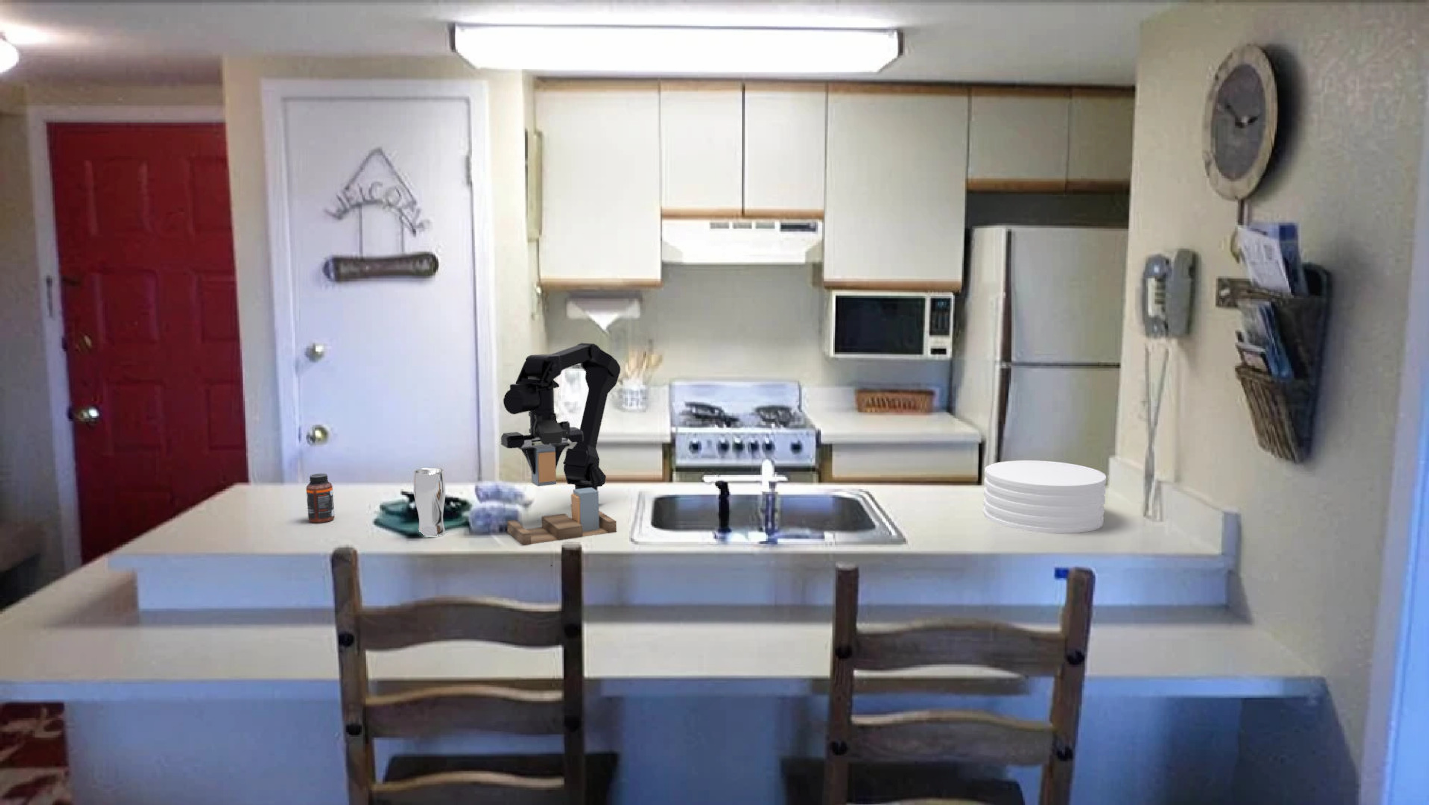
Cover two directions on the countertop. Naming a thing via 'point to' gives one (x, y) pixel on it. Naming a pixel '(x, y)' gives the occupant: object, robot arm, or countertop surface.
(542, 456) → the block
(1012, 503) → the plate stack
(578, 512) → the block
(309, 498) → the supplement bottle
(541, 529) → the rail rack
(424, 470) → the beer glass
